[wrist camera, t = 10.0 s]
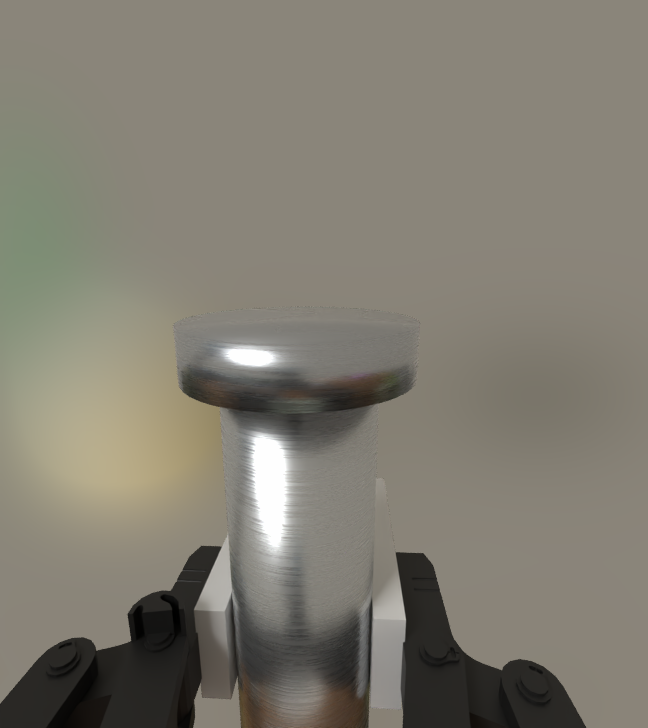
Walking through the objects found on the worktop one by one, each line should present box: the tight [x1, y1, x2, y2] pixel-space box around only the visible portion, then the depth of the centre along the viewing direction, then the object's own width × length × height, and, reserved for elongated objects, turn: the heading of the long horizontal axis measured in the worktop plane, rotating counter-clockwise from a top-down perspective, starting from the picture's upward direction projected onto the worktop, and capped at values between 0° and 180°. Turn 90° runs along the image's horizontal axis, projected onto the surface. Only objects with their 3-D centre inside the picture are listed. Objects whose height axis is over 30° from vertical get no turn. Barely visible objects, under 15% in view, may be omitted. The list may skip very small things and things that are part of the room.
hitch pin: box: [173, 307, 420, 728], centre depth 11 cm, size 5×5×19 cm
